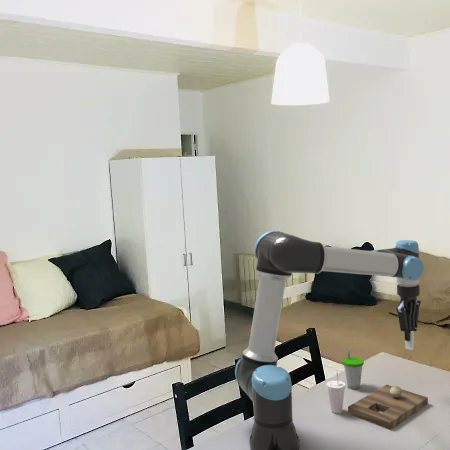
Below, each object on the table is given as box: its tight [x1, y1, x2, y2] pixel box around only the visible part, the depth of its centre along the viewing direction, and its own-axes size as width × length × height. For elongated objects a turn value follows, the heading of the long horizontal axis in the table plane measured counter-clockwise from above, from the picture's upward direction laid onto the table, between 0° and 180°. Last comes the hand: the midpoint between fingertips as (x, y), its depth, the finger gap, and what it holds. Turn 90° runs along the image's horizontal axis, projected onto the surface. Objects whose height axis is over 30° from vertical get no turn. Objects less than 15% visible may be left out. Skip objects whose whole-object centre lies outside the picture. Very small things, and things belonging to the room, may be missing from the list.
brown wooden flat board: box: [347, 384, 429, 431], centre depth 177 cm, size 24×16×2 cm, turn 131°
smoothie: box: [325, 371, 346, 415], centre depth 177 cm, size 6×6×14 cm
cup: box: [342, 345, 364, 390], centre depth 196 cm, size 8×8×15 cm
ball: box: [390, 385, 403, 398], centre depth 180 cm, size 4×4×4 cm
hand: (409, 348), depth 185 cm, fingers closed
